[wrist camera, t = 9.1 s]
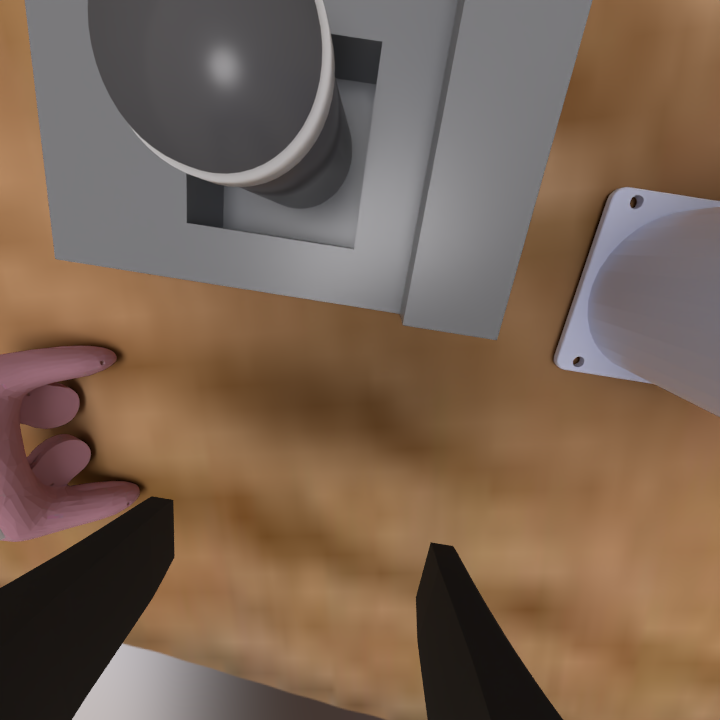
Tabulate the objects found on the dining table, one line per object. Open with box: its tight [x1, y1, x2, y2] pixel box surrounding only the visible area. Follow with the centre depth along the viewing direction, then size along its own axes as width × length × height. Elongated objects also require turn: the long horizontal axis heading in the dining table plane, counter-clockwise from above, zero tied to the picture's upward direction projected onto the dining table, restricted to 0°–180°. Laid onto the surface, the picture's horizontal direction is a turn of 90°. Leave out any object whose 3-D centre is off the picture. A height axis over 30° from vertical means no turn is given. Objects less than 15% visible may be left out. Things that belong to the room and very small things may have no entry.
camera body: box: [25, 0, 592, 340], centre depth 12 cm, size 16×10×6 cm, turn 82°
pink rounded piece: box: [0, 346, 140, 542], centre depth 18 cm, size 10×5×7 cm, turn 177°
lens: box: [88, 0, 352, 209], centre depth 10 cm, size 5×5×8 cm
